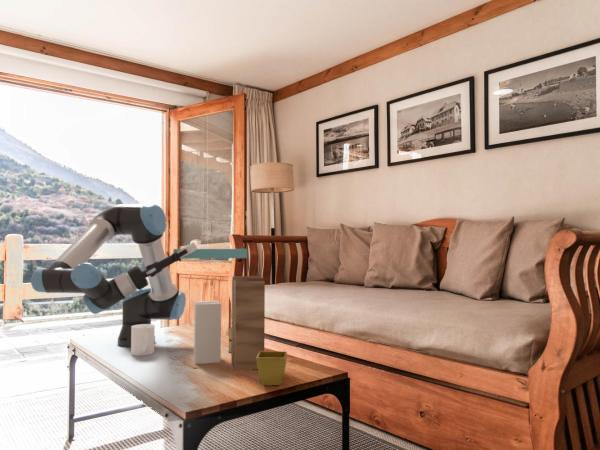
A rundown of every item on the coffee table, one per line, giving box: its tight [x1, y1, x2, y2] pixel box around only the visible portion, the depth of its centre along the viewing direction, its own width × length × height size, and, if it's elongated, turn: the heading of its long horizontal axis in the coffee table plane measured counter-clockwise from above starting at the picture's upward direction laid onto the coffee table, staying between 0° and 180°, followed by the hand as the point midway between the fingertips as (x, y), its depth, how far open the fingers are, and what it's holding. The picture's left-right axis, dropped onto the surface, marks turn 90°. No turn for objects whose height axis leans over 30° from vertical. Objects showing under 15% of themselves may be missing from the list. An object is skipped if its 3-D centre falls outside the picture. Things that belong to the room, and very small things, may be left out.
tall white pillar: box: [193, 300, 222, 365], centre depth 172 cm, size 8×9×21 cm
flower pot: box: [256, 350, 288, 386], centre depth 144 cm, size 9×9×9 cm
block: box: [172, 248, 248, 260], centre depth 162 cm, size 3×25×3 cm, turn 106°
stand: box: [230, 275, 266, 372], centre depth 164 cm, size 10×10×31 cm
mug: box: [130, 323, 155, 357], centre depth 181 cm, size 9×12×11 cm
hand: (195, 245), depth 161 cm, fingers closed on block, 3 cm apart
